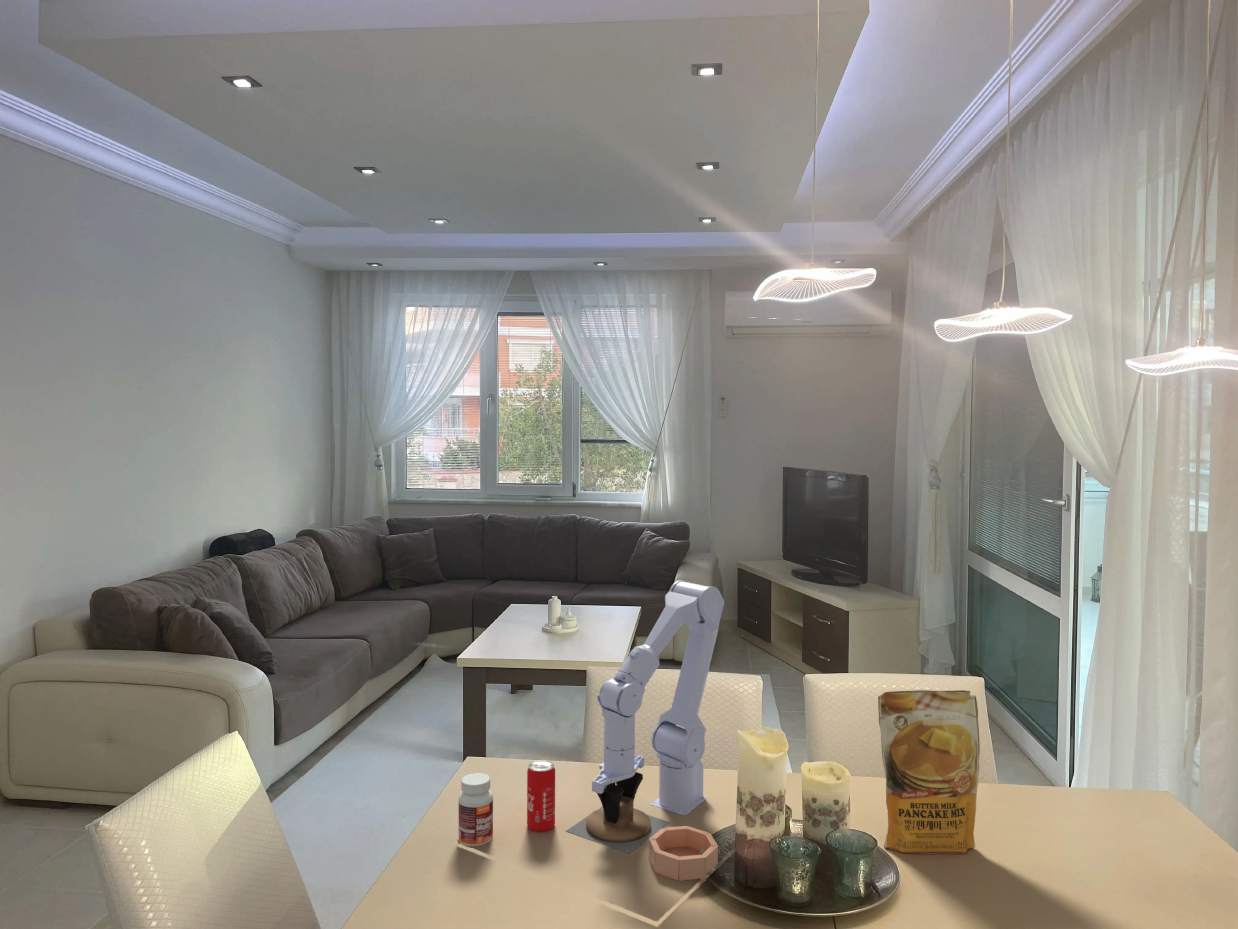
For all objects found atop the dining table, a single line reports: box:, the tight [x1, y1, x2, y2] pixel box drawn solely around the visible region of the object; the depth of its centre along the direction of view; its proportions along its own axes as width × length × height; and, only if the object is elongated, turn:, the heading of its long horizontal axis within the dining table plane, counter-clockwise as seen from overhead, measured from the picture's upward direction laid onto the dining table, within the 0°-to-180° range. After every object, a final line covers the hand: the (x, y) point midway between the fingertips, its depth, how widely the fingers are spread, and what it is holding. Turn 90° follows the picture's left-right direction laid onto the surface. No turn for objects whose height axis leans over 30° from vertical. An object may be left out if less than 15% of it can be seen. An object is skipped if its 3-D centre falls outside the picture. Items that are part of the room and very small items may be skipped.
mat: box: [565, 806, 671, 855], centre depth 154 cm, size 14×14×1 cm
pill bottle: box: [458, 772, 494, 849], centre depth 149 cm, size 6×6×11 cm
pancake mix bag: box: [877, 689, 981, 855], centre depth 148 cm, size 7×19×28 cm, turn 91°
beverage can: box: [526, 760, 556, 833], centre depth 153 cm, size 5×5×12 cm
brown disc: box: [586, 795, 651, 843], centre depth 154 cm, size 12×12×5 cm
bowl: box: [648, 825, 719, 883], centre depth 141 cm, size 11×11×4 cm
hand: (618, 817), depth 154 cm, fingers closed on brown disc, 4 cm apart
